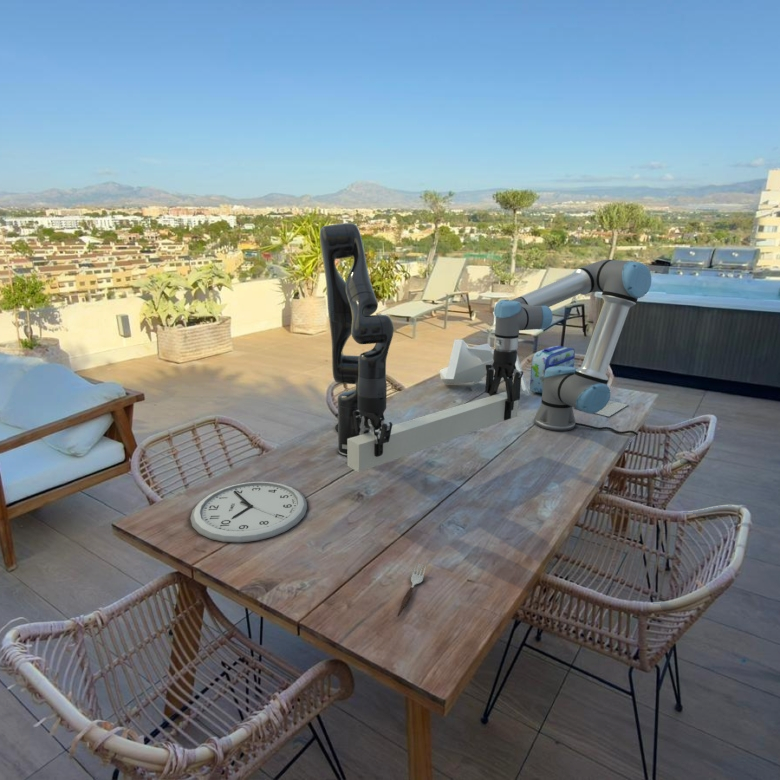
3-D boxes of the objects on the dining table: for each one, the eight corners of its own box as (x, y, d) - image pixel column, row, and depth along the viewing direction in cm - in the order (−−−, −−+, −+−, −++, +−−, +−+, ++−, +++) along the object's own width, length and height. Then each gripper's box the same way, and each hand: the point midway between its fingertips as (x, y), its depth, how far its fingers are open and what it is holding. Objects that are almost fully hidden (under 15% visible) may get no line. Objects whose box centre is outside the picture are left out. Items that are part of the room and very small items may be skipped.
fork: (391, 616, 102) (391, 608, 102) (415, 569, 116) (416, 561, 116) (404, 620, 101) (404, 611, 101) (426, 571, 116) (427, 564, 115)
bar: (505, 412, 182) (507, 391, 180) (517, 416, 179) (519, 394, 176) (347, 465, 139) (347, 438, 137) (358, 472, 136) (359, 444, 133)
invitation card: (608, 416, 214) (573, 407, 224) (608, 416, 214) (573, 408, 224) (628, 404, 229) (594, 396, 238) (628, 405, 229) (594, 397, 238)
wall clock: (302, 534, 126) (174, 538, 123) (303, 540, 126) (175, 544, 124) (310, 477, 154) (206, 479, 152) (310, 482, 155) (206, 484, 152)
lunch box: (546, 399, 235) (551, 353, 228) (525, 393, 242) (530, 349, 236) (574, 387, 252) (579, 345, 246) (553, 383, 260) (558, 341, 253)
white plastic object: (461, 429, 252) (437, 405, 227) (444, 352, 274) (420, 323, 250) (535, 404, 240) (518, 377, 215) (510, 326, 262) (492, 293, 237)
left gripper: (343, 388, 138) (344, 447, 143) (378, 402, 128) (378, 465, 133) (366, 383, 143) (366, 440, 148) (401, 396, 132) (400, 457, 138)
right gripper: (476, 346, 174) (472, 412, 181) (521, 356, 161) (515, 426, 168) (490, 343, 178) (486, 407, 185) (536, 352, 165) (529, 421, 172)
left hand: (371, 451), depth 140 cm, fingers closed on bar, 5 cm apart
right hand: (500, 416), depth 176 cm, fingers closed on bar, 5 cm apart
